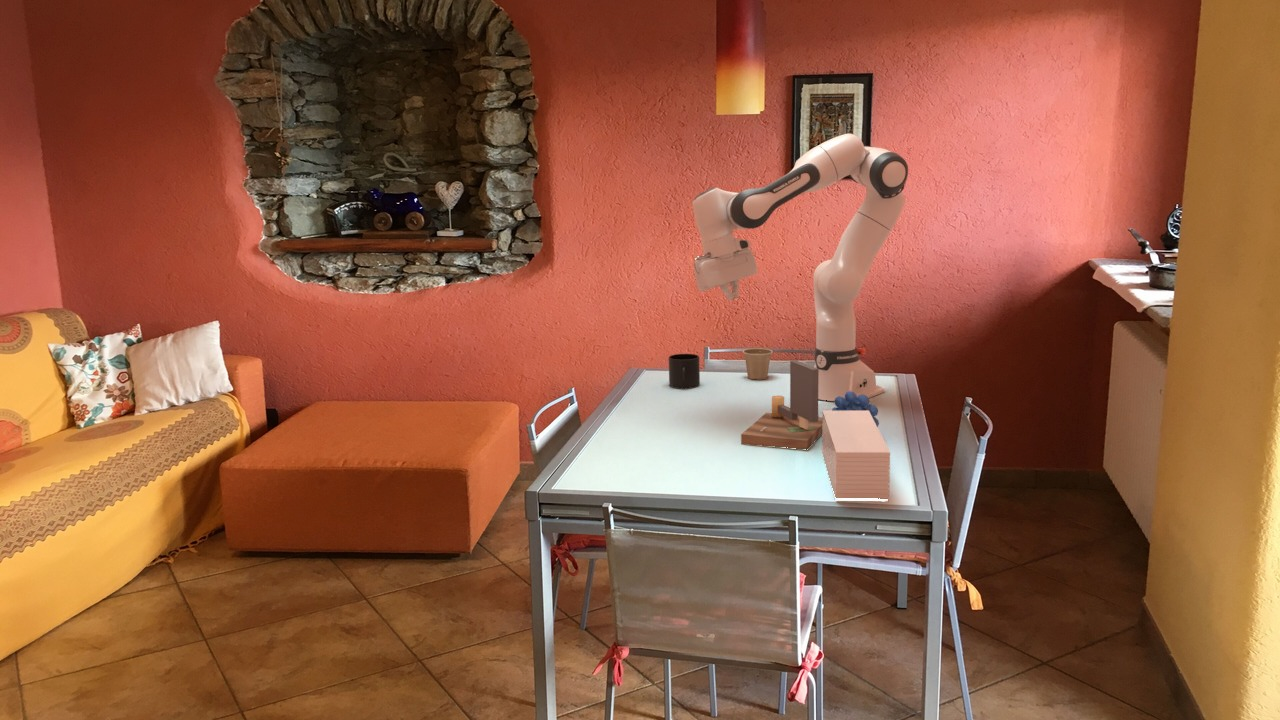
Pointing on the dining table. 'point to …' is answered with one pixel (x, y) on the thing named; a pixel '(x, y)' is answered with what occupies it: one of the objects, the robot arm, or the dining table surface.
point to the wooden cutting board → (781, 432)
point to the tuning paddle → (800, 395)
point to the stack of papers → (855, 455)
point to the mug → (684, 371)
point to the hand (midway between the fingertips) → (733, 299)
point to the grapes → (855, 404)
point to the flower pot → (757, 362)
